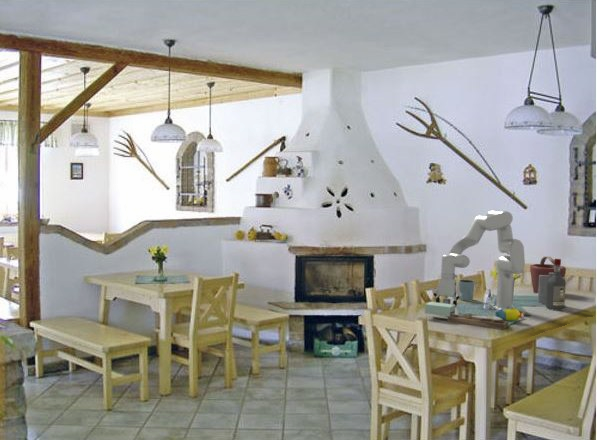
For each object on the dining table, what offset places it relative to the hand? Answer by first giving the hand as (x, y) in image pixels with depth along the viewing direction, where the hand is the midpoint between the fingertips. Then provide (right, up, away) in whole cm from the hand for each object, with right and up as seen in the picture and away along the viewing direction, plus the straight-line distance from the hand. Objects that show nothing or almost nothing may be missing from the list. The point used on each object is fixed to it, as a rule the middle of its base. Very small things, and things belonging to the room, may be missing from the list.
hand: (446, 306), depth 389 cm
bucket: (+84, -1, +76) cm, 113 cm away
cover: (-7, -2, -15) cm, 17 cm away
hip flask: (+72, -4, +34) cm, 80 cm away
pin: (0, -4, 0) cm, 4 cm away
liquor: (+70, -5, +21) cm, 73 cm away
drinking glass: (+22, -2, +44) cm, 50 cm away
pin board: (+11, -6, -26) cm, 29 cm away
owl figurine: (+31, -7, -17) cm, 36 cm away
